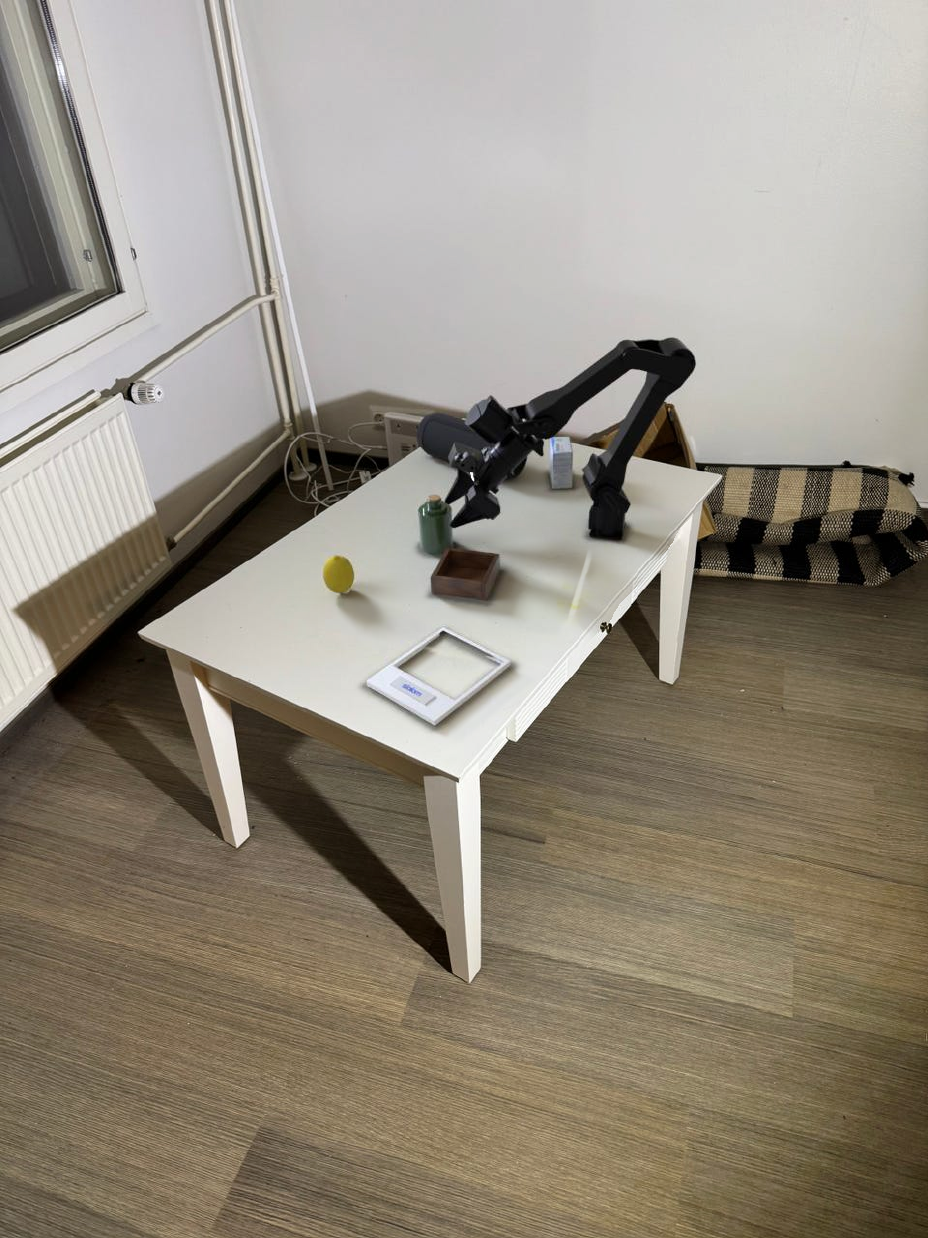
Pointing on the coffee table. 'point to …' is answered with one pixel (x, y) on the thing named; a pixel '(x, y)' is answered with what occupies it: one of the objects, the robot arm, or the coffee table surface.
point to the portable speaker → (451, 437)
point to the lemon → (338, 574)
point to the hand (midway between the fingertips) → (448, 514)
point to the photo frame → (421, 695)
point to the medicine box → (561, 462)
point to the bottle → (435, 525)
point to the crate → (465, 574)
